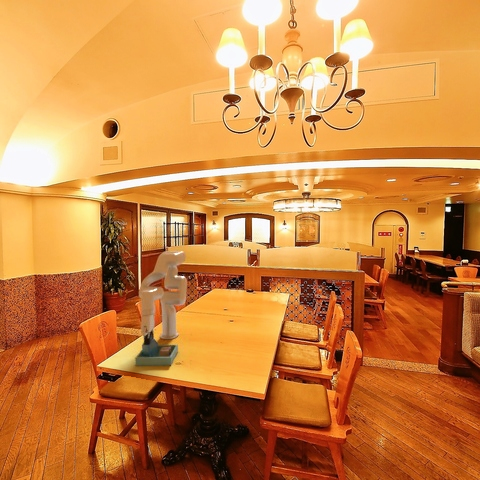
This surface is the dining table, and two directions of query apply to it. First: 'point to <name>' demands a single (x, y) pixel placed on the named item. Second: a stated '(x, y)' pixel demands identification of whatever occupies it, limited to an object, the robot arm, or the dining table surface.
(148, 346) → the perfume bottle
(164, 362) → the tote
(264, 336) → the dining table surface
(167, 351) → the walnut cube
